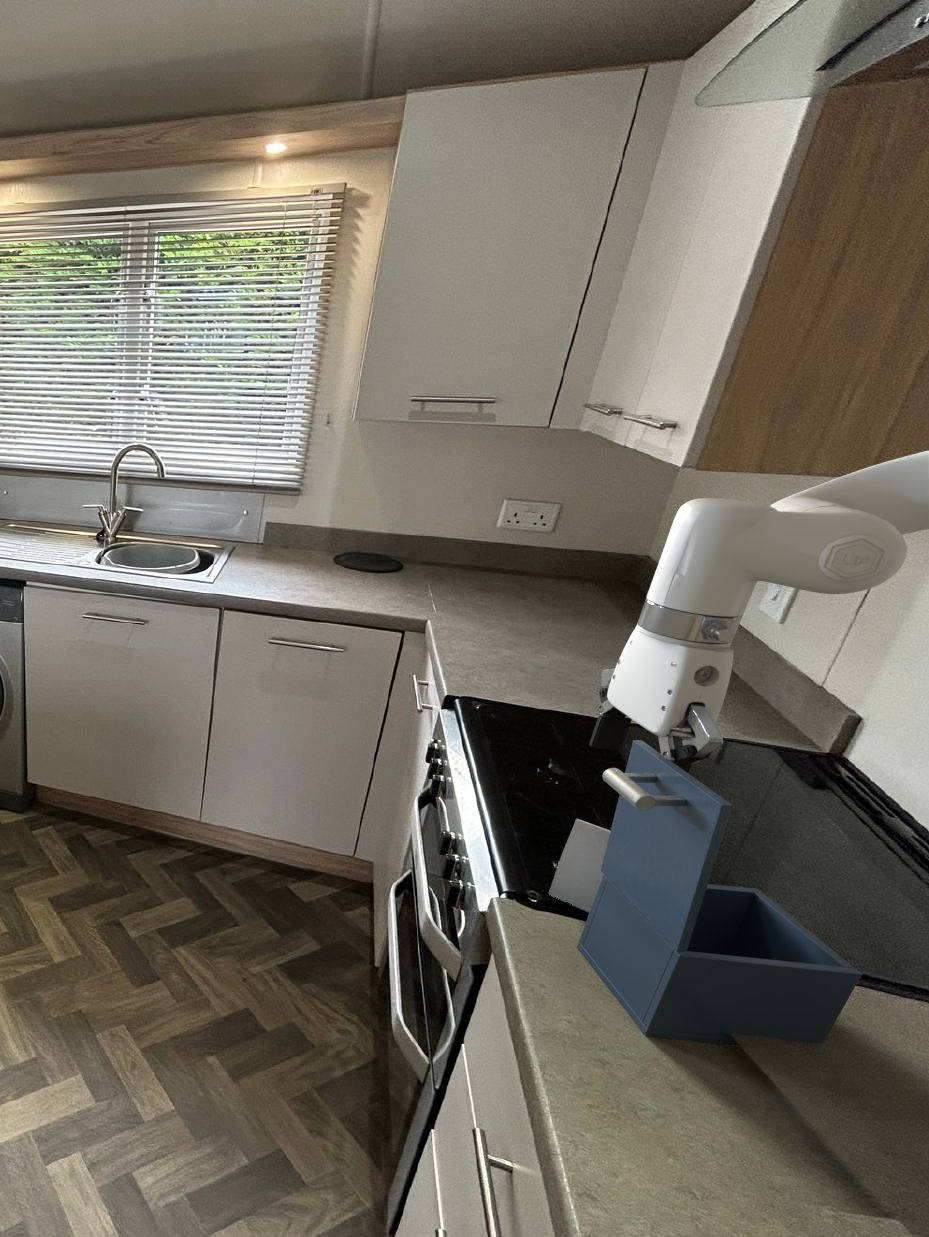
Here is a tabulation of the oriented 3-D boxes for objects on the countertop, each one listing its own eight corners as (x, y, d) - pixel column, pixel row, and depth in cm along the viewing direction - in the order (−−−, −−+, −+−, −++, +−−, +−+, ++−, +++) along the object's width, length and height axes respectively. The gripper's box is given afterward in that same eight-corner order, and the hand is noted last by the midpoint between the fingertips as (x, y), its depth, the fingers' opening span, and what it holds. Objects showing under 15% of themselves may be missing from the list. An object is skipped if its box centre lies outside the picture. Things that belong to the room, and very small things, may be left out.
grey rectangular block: (616, 924, 83) (644, 852, 79) (548, 894, 87) (571, 825, 84) (624, 909, 85) (651, 839, 81) (557, 881, 90) (580, 813, 86)
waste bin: (722, 962, 77) (757, 888, 74) (816, 1055, 67) (862, 974, 63) (576, 947, 79) (603, 874, 76) (644, 1035, 69) (680, 955, 65)
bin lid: (641, 740, 70) (586, 740, 71) (733, 805, 59) (666, 804, 60) (608, 870, 75) (557, 869, 76) (686, 952, 65) (626, 949, 66)
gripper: (799, 656, 65) (727, 816, 71) (669, 601, 81) (619, 736, 87) (708, 650, 66) (644, 809, 72) (596, 596, 82) (552, 730, 88)
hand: (630, 769), depth 80 cm, fingers open, 9 cm apart
